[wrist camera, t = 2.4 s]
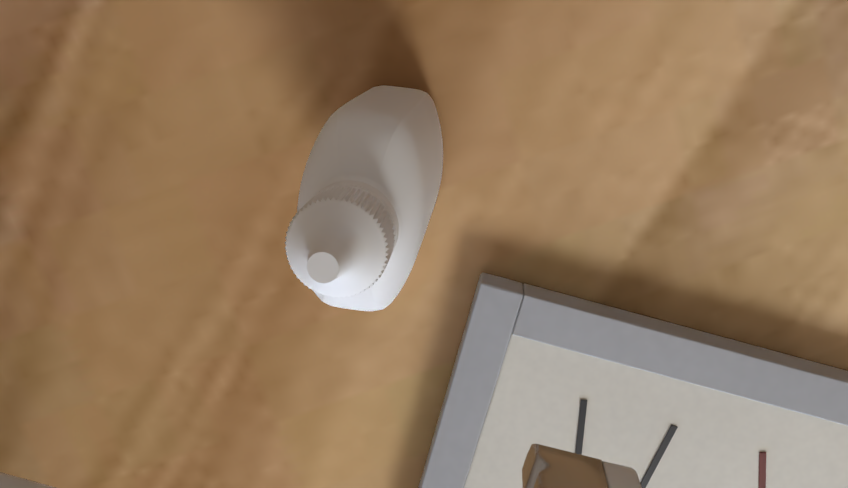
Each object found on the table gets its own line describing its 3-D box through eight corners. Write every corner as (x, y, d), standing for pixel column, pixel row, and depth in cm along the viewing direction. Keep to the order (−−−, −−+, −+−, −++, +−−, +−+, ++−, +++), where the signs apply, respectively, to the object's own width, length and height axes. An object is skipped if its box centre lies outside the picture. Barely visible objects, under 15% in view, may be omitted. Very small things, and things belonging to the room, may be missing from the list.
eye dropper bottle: (302, 190, 29) (171, 308, 17) (389, 62, 27) (308, 97, 16) (400, 260, 29) (335, 419, 18) (491, 137, 28) (485, 224, 16)
